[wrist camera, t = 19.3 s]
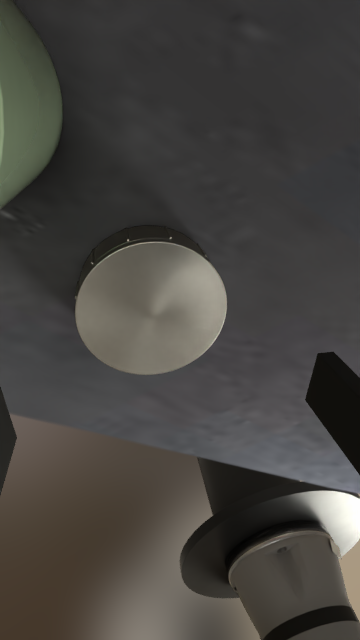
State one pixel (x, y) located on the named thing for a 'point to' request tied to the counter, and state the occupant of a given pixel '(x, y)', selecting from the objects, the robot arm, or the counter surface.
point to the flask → (25, 103)
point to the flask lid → (149, 301)
